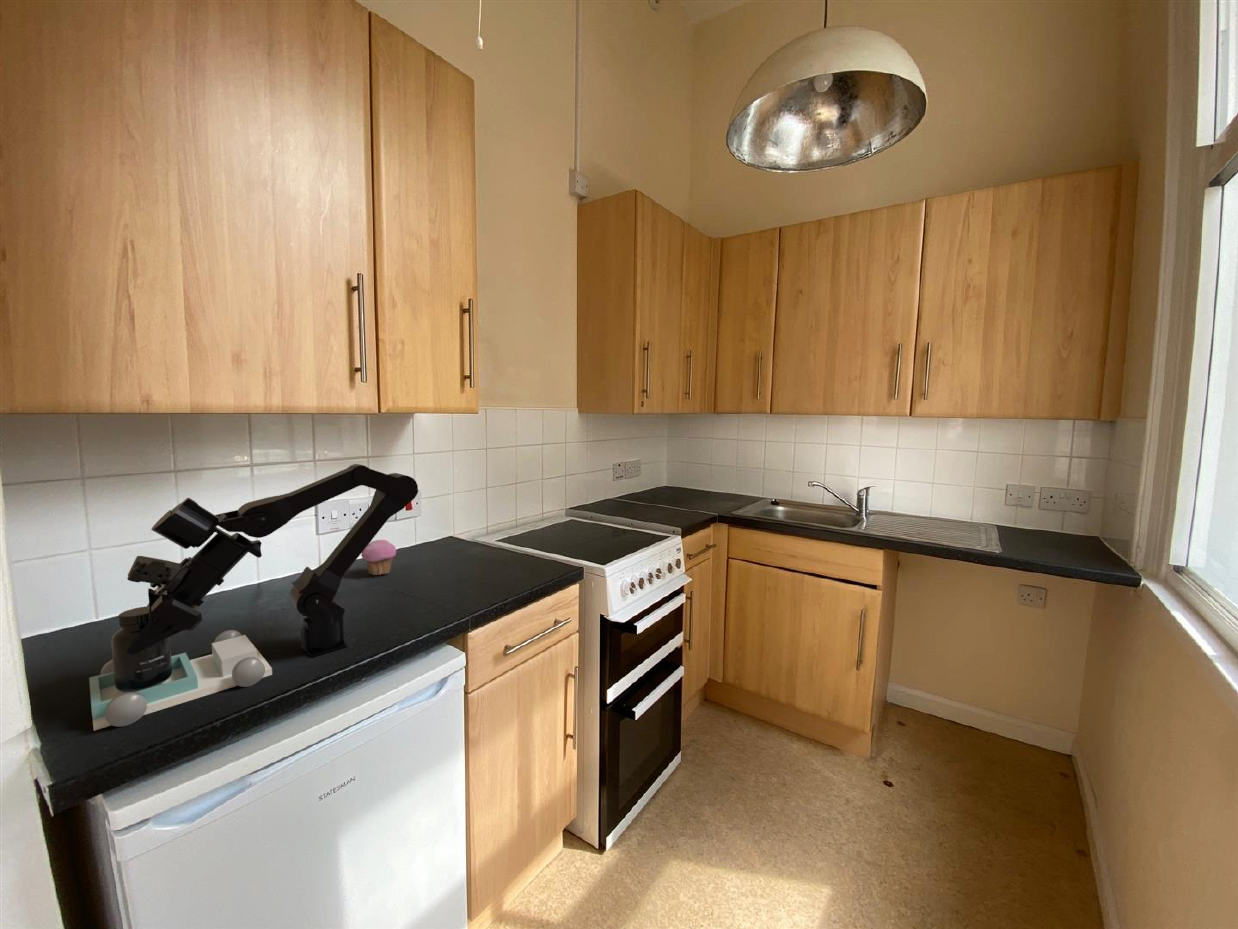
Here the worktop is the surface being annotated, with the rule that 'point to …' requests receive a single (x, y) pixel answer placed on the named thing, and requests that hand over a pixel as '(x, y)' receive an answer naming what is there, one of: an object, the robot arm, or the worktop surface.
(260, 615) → the worktop surface
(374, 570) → the cupcake
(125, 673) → the supplement bottle
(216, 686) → the chassis
